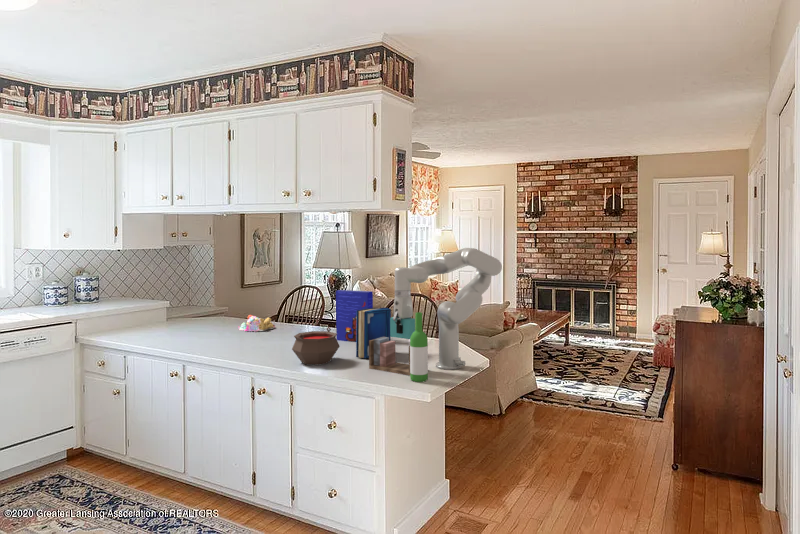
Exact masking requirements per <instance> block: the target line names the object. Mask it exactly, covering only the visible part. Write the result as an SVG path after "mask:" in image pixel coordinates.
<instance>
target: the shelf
mask: <svg viewBox="0 0 800 534" xmlns="http://www.w3.org/2000/svg"><path fill="white" fill-rule="evenodd" d="M396 357H397V356H396V341H395V340H389V337H380V338H377V339H373V340H369V358H368V369H370V370H375V371H382V372H386V373H387V372H388V373H394V374H399V375H405V376H410V345H408V364H407V363H402V362H396V359H397V358H396Z"/></svg>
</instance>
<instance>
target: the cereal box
mask: <svg viewBox="0 0 800 534" xmlns="http://www.w3.org/2000/svg"><path fill="white" fill-rule="evenodd" d="M373 295H374V293H373V291H370V290H369V291H367V290H349V289H338V290H335V313H336V314H335V317H336V318H335V319H336V321H335V325H336V329H335V330H336V332H335V333H336V334H337V335H336V339H337V341H338V342H339V341H342V342H350V343H351V342H352V343H356V321H357V310H362V309H367V308H374V305H373V304H374V302H373V301H374V299H373V298H374V296H373Z"/></svg>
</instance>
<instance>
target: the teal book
mask: <svg viewBox="0 0 800 534" xmlns="http://www.w3.org/2000/svg"><path fill="white" fill-rule="evenodd" d="M393 317H394V316H391V318H390V337H391V338H395V339H396V338H398V339H406V340H410V338H411V335H412V333H413V332H415V318H413V317H411V318H405V319H402V325H403V333H402V334H399V333H396V323H395V321H394V320H393ZM399 321H400V320H399Z"/></svg>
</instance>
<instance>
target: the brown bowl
mask: <svg viewBox="0 0 800 534" xmlns="http://www.w3.org/2000/svg"><path fill="white" fill-rule="evenodd" d="M331 330H332V329H331V328H330V326H327V328H326V330H325V331H324V330H320V331H317V330H315V331H314V330H313V331H304V332H298V333H296V334H295V335H293V338H295V341H294V343H293V345H292V348H291V350H292V352H293V353H294V354H295V355H296V357H297V358H298V360H300V362H301V363H302V364H303V365H304V364H305V365H307V366H310V365H311V366H319V365H320V366H321V365H326V364H329V363H330V362H331V360H332V359H333V357H334V356H335V354H336V353H337V351H338V349H339V348H340V347H341V346H340V344H339V341H338V340H337V334H336V332H333V331H331Z"/></svg>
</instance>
